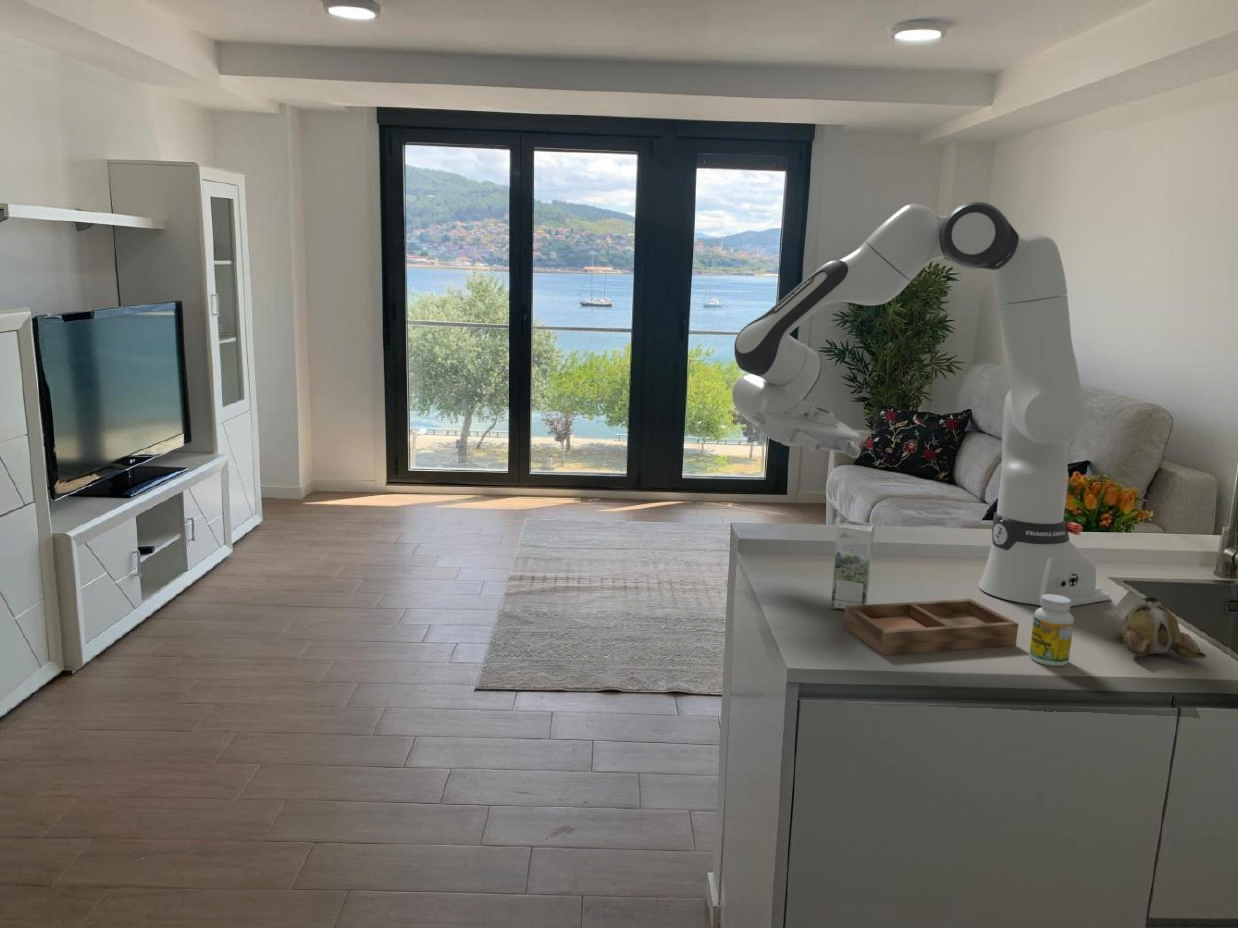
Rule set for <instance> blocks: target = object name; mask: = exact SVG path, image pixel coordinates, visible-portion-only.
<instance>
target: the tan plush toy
mask: <svg viewBox="0 0 1238 928" xmlns="http://www.w3.org/2000/svg"><path fill="white" fill-rule="evenodd" d="M1110 624H1111V627H1112V629H1113V632H1114V633H1115V634H1116V636H1118V637H1120V638H1122V641H1123V644H1124V645H1125V648H1126V649H1127V651H1128V652H1129V653H1131V654H1133V655H1134V656H1136V657H1137V656H1138V657H1143V656H1146V655H1162V654H1165V653H1167V652H1170V650H1172V651H1173V652H1174V653H1175V654H1177V655H1178V656H1181V657H1183V658H1188V659H1206V657H1207V655H1206V654H1205V653H1204V652H1202V651H1201V649H1200V647H1199V645H1198V643H1197V642H1196V640H1194V639H1192V637H1191V636H1190V635H1189V634H1188V633H1185V632H1182V631H1181V630H1180V627H1179V624H1178V619H1177V617H1175V616H1174V615H1173V614H1172V612H1170V610H1168V609H1166V608H1164V607H1163V605H1162V603H1161V602H1160V601H1159V600H1158V598H1156V597H1141V596H1139V595H1137V594H1136V593H1135V592H1133V591H1131V590H1129V591H1128V592H1127V593H1126V594H1125V595H1124V596H1123V597H1122V598H1121V599H1120V601H1119V602H1118V603H1117V605H1115V608H1114V610H1113V612H1112V613H1111V614H1110Z"/></svg>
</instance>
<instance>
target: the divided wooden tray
mask: <svg viewBox="0 0 1238 928" xmlns="http://www.w3.org/2000/svg"><path fill="white" fill-rule="evenodd" d="M843 618H844V619H843V628H844V629H845V630H846V631H848V632H850V633H851V634H853V635H854V636H855V637H856V638H858V639H860V640H861V641H862V642H864V643H865V644H867V645H868V646H870V647H871V648H872V649H874V650H875V651H877V652H878V653H879V654H881V655H882V656H893V655H895V656H896V655H904V654H905V655H906V654H907V655H909V654H910V655H911V654H920V653H921V654H923V653H935V652H936V653H937V652H946V651H948V652H949V651H958V650H961V651H963V650H973V649H974V650H975V649H986V648H989V649H990V648H999V647H1002V648H1003V647H1011V646H1012V647H1013V646H1016V645H1017V640H1018V639H1017V638H1018V633H1019V632H1018V629H1019V623H1017V622H1016V621H1014V620H1012V619H1010V618H1008V617H1006V616H1004V615H1002V614H1000V613H998V612H996V611H994V610H992V609H990V608H988V607H986V606H984V605H983V604H981V603H979V602H977V601H975V600H973V599H971V598H961V599H945V600H944V599H943V600H929V601H911V602H895V603H894V602H892V603H891V602H890V603H875V604H867V605H856V606H845V610H844V617H843Z"/></svg>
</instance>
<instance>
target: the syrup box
mask: <svg viewBox="0 0 1238 928" xmlns="http://www.w3.org/2000/svg"><path fill="white" fill-rule="evenodd" d="M874 532H875V523H872V522H864V521H855V520H846V519H840V521H839V523H838V525H837V530H836V541H835V552H834V554H835V555H834V563H833V564H834V565H833V566H834V567H833V577H832V585H831V586H832V589H831V599H830V609H834V610H838V611H839V610H841V611H845V606H856V605H868V598H869V597H868V595H869V582H870V571H871V565H872V564H871V562H872V552H873V545H874V535H875V533H874Z"/></svg>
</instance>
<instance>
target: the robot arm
mask: <svg viewBox="0 0 1238 928" xmlns="http://www.w3.org/2000/svg"><path fill="white" fill-rule="evenodd" d="M937 259H945V260H946V261H949V262H951V263H952V264H954V265H956V266H958V267H960V268H963V269H968V270H975V269H976V270H977V269H985V270H988V271H990V273H991V274H992V276H993V278H994V281H995V285H996V291H997V292H996V293H997V294H996V295H997V304H998V314H999V315H998V316H999V324H1000V325H999V326H1000V334H1001V345H1002V346H1001V347H1002V353H1003V356H1004V360H1005V365H1006V370H1007V378H1008V383H1009V387H1010V389H1009V390H1008V391H1007V393H1006V396H1005V397H1004V398H1005V399H1004V404H1003V417H1002V418H1003V419H1002V437H1001V440H1002V441H1001V474H1000V481H999V490H998V491H999V492H998V499H997V507H996V511H995V512H994V513H993V521H992V527H991V539H992V542H991V547H990V550H989V554H988V558H987V561H986V565H985V568H984V571H983V574H982V575H981V576H982V577H981V578H980V581H979V583H978V588H979V589H980V590H981V591H983V592H985V593H987V594H988V595H991V596H994V597H996V598H1000V599H1004V600H1007V601H1011V602H1016V603H1020V604H1021V603H1023V604H1029V605H1036V606H1039V607H1042V606H1041V604H1040V601H1041V596H1042V595H1045V594H1054V595H1060V596H1064V597H1066V598H1068V599H1070V600H1071V604H1070V607H1075V606H1081V605H1087V604H1093V603H1098V602H1104V601H1105V602H1106V601H1108V600H1110V594H1109V593H1108V592H1107V591H1106V590H1105V589H1103V588H1101V587H1099V586H1097V570H1096V566H1095V563H1094V562H1093V561H1092V560H1091V559H1090V558H1089V557H1088V556H1087V555H1085V554H1084V553H1083V552H1082V551H1081V550H1080V549H1079V548H1078V547H1076V546H1075V544H1073V543H1072V541H1070V535H1069V533H1070V534H1073V535H1075V536H1079V535H1081V533H1082V532H1083V526H1082V524H1080V523H1076V522H1074V521H1071V522H1070V521H1069V522H1067V521H1066V520H1065V519H1064V516H1065V509H1066V500H1067V494H1068V483H1069V470H1068V469H1069V468H1068V467H1069V466H1068V443H1069V442H1070V441H1072V440H1073V439H1074V438H1075V437H1077V436H1078V434H1079V433H1080V432H1081V431H1082V429H1083V427H1084V424H1085V422H1086V421H1085V419H1086V411H1085V410H1086V409H1085V405H1084V400H1083V399H1084V398H1083V393H1082V387H1081V381H1080V377H1079V376H1080V375H1079V371H1078V366H1077V360H1076V357H1075V353H1074V346H1073V341H1072V332H1071V322H1070V321H1071V320H1070V310H1069V300H1068V289H1067V288H1068V287H1067V281H1066V275H1065V271H1064V264H1063V261H1062V258H1061V255H1060V251H1059V248H1058V246H1057V244H1056V242H1055V241H1054V240H1053V239H1052V238H1051V237H1048V236H1046V235H1043V234H1036V233H1029V234H1018V232H1017V231H1016V229H1015V228H1014V227H1013V225H1012V224H1011V223H1010V222H1009V221H1008V219H1007V218H1006V216H1005V215H1004V214H1003V213H1002V212H1001V210H1000V209H998V208H997V207H995V206H993V205H992V204H990V203H987V202H983V201H971V202H967V203H964V204H961V205H959V206H958V207H955V208H954V209H953V210H952V211H951V212H950V213H949V214H948V215H940V214H938V213H937V212H935V211H933V210H932V209H931V208H929V207H928V206H926V205H923V204H919V203H910V204H906V205H905V206H903V207H901V208H900V209H899V210H897V211H896V212H894V213H893V214H892V215H891V216H890V217H888V218H887V219H886V220H885V221H884V222H883V223H881V225H880V226H879V227H878V228H876V229H875V230H874V231H873V232H872V233H871V235H869V237H867V238H866V240H865V241H864V242H863V243H862V244H861V245H860V246H859V247H858V248H856V249H855V250H854V251H852V252H851V253H849V254H848V255H846V256H844V257H842V258H841V259H838V260H831V261H829V262H828V261H827V262H826V263H824V264H823V265H821V266H820V267H819V268H817V269H816V270H814V271H813V272H812V273H811V274H810V275H808V276H807V277H806V278H805V279H804V280H803V281H801V282H800V283H799V284H797V286H796V287H794V289H791V291H790V292H789V293H787V294H786V295H785V296H784V297H783V298H782V299H780V300H779V301H778V302H776V304H775V305H774V306H772V307H771V308H770V309H769V310H768V311H767V312H765V313H763V314H762V315H761V316H759V317H758V318H756V319H755V320H752V321H751V322H749V323H748V324H746V325H745V326H744V327H743V328H742V329H741V330H740V331H739V333H738V335H737V336H736V339H735V341H734V347H733V348H734V357H735V362H736V364H737V366H738V368H739V369H740V370H742V371H744V372H746V373H747V374H744V375H741V377H739V378H738V379H737V380H736V381H735V383H734V385H733V387H732V394H731V397H732V398H731V399H732V403H733V405H734V407H735V408H736V411H738V412H739V414H740V415H741V416H742V417H743V418H745V419H746V420H747V421H748V422H749V423H751V424H752V425H753V426H755V427H757V428H758V430H759V431H761V432H762V433H763V434H764V435H765V436H766V437H767V438H768V439H771V440H772V441H774V442H777V443H780V444H782V445H783V446H786V447H795V446H799V447H800V446H801V447H804V448H805V449H808V450H810V452H811V451H812V452H819V451H820V450H824V451H829V452H835V453H841V454H845V455H846V456H848V457H850V458H854V459H858V458H859V456H860V454H861V450H862V449H861V448H860V444H861V441H862V437H861V435H860V434H859V433H858V432H857V431H855V430H854V429H852V428H851V427H849V426H848V425H846V424H845V423H844V422H842V421H840V420H838V419H836V418H835V414H834V413H833V412H831V411H828V410H826V409H823V408H819V407H817V406H814V405H812V404H811V403H809V402H808V401H805V399H806V398H807V397H808V396H809V395H810V394H811V393H812V391H813V390H814V388H815V387H816V385H817V383H818V381H819V379H820V377H821V373H822V360H821V357H820V355H819V353H818V352H817V351H815V350H814V349H812V348H810V346H808V345H806V344H805V343H804V342H801V341H799V340H798V339H796V338H794V337H793V336H792V335H790V334H791V333H792V332H793V331H794V330H795V329H796V328H798V327H799V326H800V325H801V324H802V323H804V321H806V320H808V319H809V317H811V316H812V315H813V314H814V313H815V312H817V311H818V310H819V309H821V308H822V307H824V306H826V305H829V304H833V303H851V304H857V305H861V306H880V305H883V304H886V303H887V304H888V303H889V302H890V301H892V300H893V299H894V298H895V297H897V296H898V295H899V294H901V292H902V291H903V290H905V289H906V287H907V286H908V285H909V284H910V283H911V282H912V281H913V280H914V279H915V278H916V277H917V276H918V275H919V273H921V271H922V270H924V268H925V267H927V266H928V265H929V264H930V263H931V262H934V261H935V260H937Z"/></svg>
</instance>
